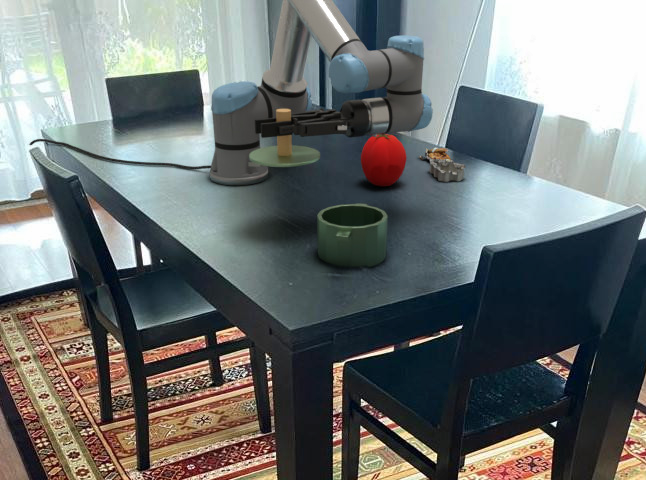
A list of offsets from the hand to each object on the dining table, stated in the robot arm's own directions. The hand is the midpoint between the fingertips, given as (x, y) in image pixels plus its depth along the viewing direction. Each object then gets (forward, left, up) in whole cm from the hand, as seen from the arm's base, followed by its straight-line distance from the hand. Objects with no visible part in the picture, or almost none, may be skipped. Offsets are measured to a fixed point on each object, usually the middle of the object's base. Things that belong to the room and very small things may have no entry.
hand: (258, 128), depth 154 cm
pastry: (+31, +64, -23) cm, 75 cm away
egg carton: (+34, +51, -23) cm, 66 cm away
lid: (+4, +3, -6) cm, 8 cm away
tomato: (+19, +40, -23) cm, 50 cm away
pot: (+21, -8, -23) cm, 32 cm away
